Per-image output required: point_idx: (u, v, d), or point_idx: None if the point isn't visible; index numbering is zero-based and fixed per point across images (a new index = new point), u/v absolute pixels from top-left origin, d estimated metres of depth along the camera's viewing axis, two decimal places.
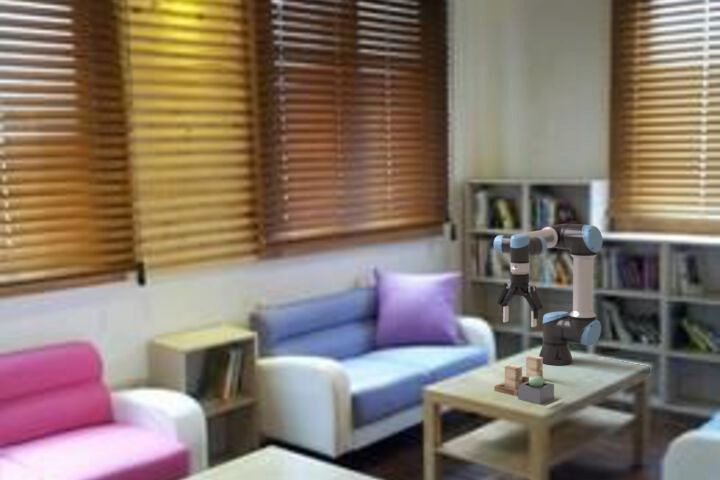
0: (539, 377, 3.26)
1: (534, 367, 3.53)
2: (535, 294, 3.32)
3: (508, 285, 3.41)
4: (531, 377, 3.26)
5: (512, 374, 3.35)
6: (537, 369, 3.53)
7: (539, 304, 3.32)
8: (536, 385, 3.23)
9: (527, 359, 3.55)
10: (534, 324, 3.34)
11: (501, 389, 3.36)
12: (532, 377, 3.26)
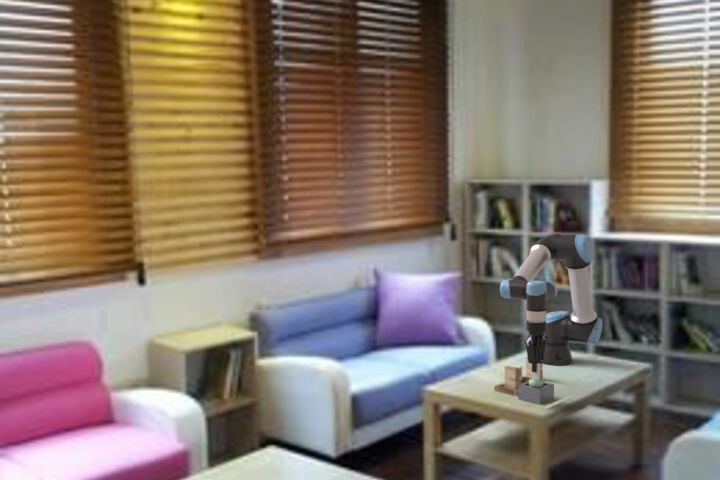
0: (539, 380, 3.26)
1: None
2: (528, 349, 3.21)
3: None
4: (531, 380, 3.26)
5: (512, 374, 3.35)
6: None
7: (530, 359, 3.22)
8: None
9: (527, 359, 3.55)
10: (534, 377, 3.25)
11: (501, 389, 3.36)
12: (532, 380, 3.26)
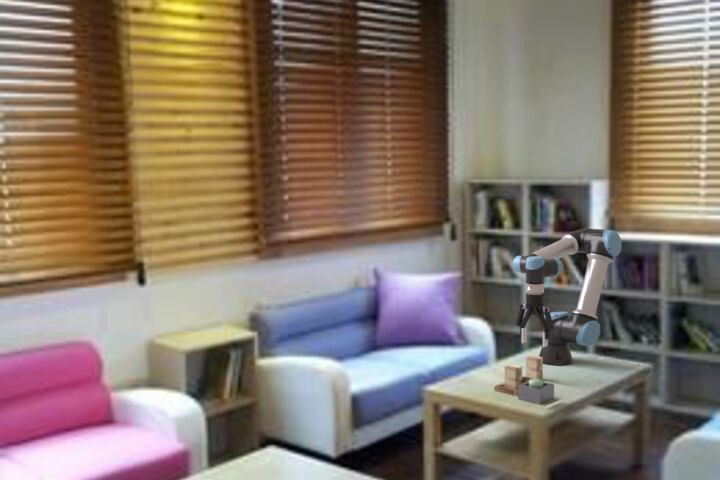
0: (539, 380, 3.26)
1: (534, 367, 3.53)
2: (548, 315, 3.48)
3: (523, 305, 3.56)
4: (531, 380, 3.26)
5: (512, 374, 3.35)
6: (537, 369, 3.53)
7: (551, 325, 3.48)
8: None
9: (527, 359, 3.55)
10: (545, 344, 3.50)
11: (501, 389, 3.36)
12: (532, 380, 3.26)
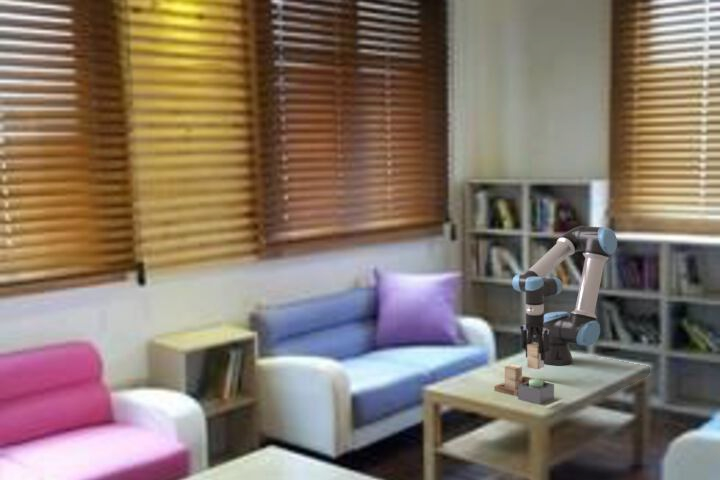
0: (539, 380, 3.26)
1: (535, 354, 3.52)
2: (547, 337, 3.50)
3: (524, 327, 3.57)
4: (531, 380, 3.26)
5: (512, 374, 3.35)
6: (538, 356, 3.53)
7: (547, 347, 3.50)
8: None
9: (528, 346, 3.55)
10: (541, 365, 3.54)
11: (501, 389, 3.36)
12: (532, 380, 3.26)
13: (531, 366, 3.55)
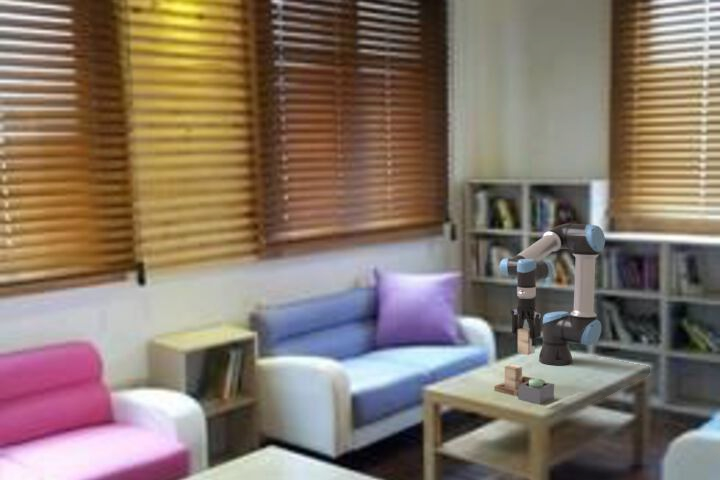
0: (539, 380, 3.26)
1: (526, 339, 3.39)
2: (538, 322, 3.37)
3: (515, 311, 3.44)
4: (531, 380, 3.26)
5: (512, 374, 3.35)
6: None
7: (538, 332, 3.38)
8: None
9: (519, 331, 3.42)
10: (532, 351, 3.41)
11: (501, 389, 3.36)
12: (532, 380, 3.26)
13: (521, 351, 3.42)
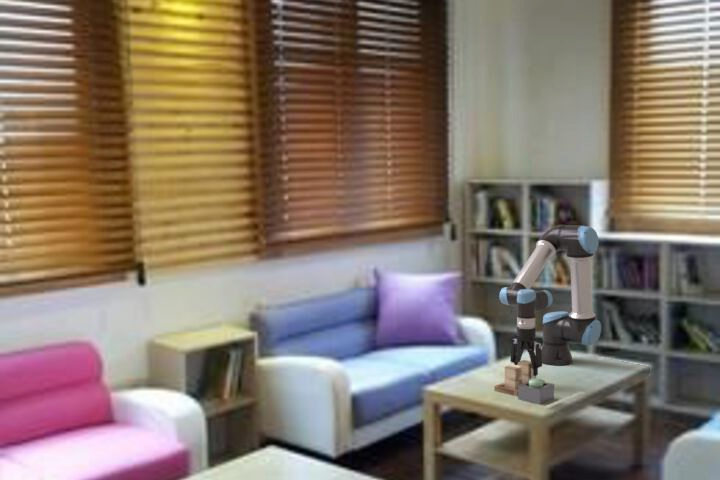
0: (539, 380, 3.26)
1: (526, 372, 3.41)
2: (539, 352, 3.38)
3: (515, 340, 3.46)
4: (531, 380, 3.26)
5: (512, 374, 3.35)
6: (529, 374, 3.41)
7: (540, 362, 3.39)
8: None
9: (519, 364, 3.43)
10: None
11: (501, 389, 3.36)
12: (532, 380, 3.26)
13: None
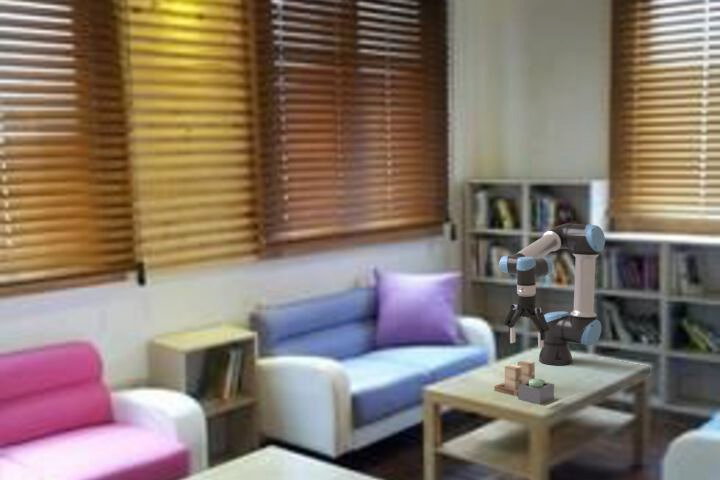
0: (539, 380, 3.26)
1: (526, 372, 3.41)
2: (542, 316, 3.36)
3: (515, 306, 3.44)
4: (531, 380, 3.26)
5: (512, 374, 3.35)
6: (529, 374, 3.41)
7: (546, 326, 3.35)
8: None
9: (519, 364, 3.43)
10: (541, 345, 3.38)
11: (501, 389, 3.36)
12: (532, 380, 3.26)
13: None
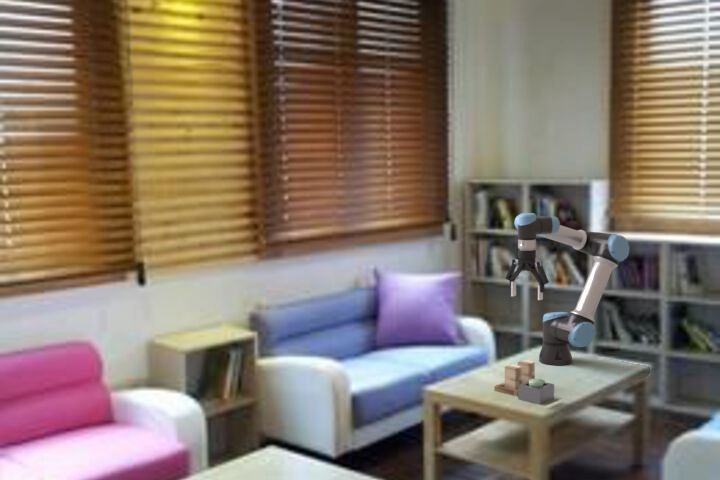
0: (539, 380, 3.26)
1: (526, 372, 3.41)
2: (541, 269, 3.52)
3: (516, 261, 3.60)
4: (531, 380, 3.26)
5: (512, 374, 3.35)
6: (529, 374, 3.41)
7: (545, 278, 3.51)
8: None
9: (519, 364, 3.43)
10: (540, 297, 3.53)
11: (501, 389, 3.36)
12: (532, 380, 3.26)
13: None
